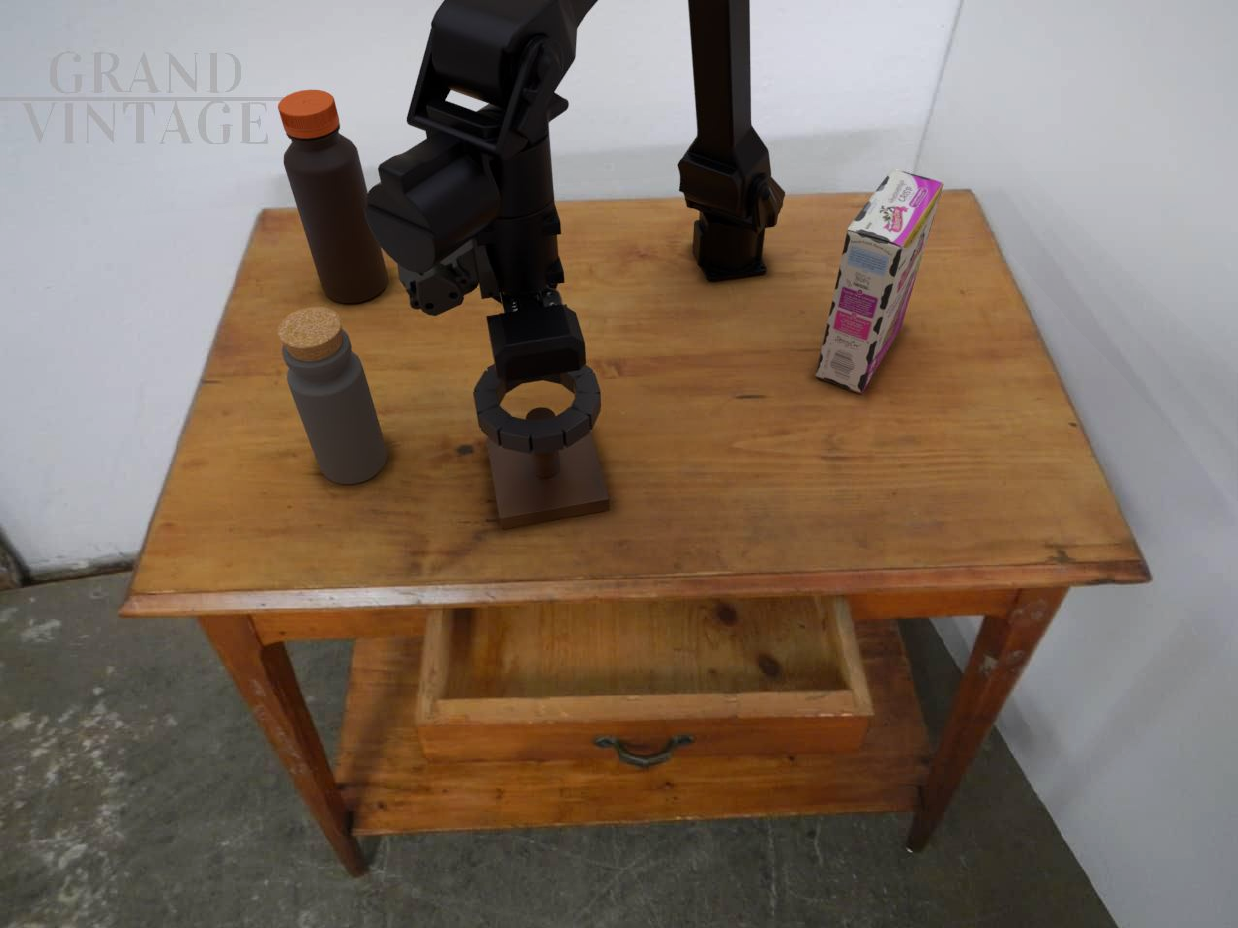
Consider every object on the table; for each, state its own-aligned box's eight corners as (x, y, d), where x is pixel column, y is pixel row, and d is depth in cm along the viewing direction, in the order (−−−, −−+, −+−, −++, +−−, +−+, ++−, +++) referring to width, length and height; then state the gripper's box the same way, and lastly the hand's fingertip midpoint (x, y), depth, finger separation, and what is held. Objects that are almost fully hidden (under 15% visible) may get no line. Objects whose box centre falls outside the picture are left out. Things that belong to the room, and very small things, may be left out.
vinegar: (392, 263, 100) (349, 82, 85) (385, 303, 96) (339, 119, 81) (328, 266, 100) (274, 85, 85) (318, 307, 95) (259, 123, 80)
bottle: (373, 490, 79) (330, 356, 68) (308, 480, 80) (255, 346, 69) (397, 440, 83) (361, 306, 72) (335, 431, 84) (289, 297, 72)
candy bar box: (864, 397, 86) (903, 247, 73) (813, 378, 87) (843, 229, 75) (905, 328, 92) (947, 179, 80) (856, 312, 94) (890, 164, 82)
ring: (586, 358, 77) (585, 341, 76) (611, 441, 71) (611, 424, 69) (470, 377, 76) (467, 360, 74) (485, 463, 70) (482, 446, 68)
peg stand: (588, 433, 83) (585, 370, 78) (609, 510, 77) (608, 448, 72) (487, 450, 82) (477, 388, 76) (501, 529, 76) (491, 468, 70)
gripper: (384, 140, 68) (421, 308, 80) (401, 296, 56) (441, 467, 68) (535, 122, 70) (549, 289, 82) (582, 270, 58) (591, 442, 69)
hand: (530, 365), depth 75 cm, fingers closed on ring, 2 cm apart
